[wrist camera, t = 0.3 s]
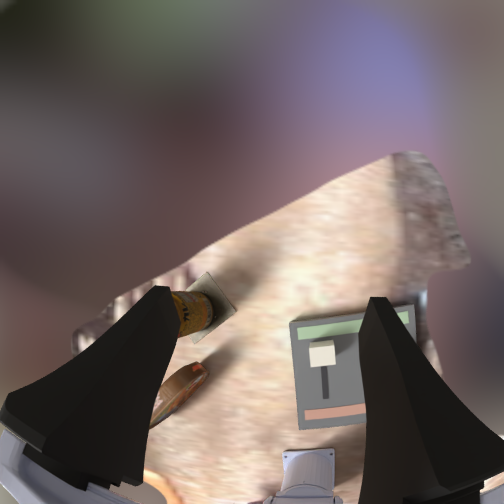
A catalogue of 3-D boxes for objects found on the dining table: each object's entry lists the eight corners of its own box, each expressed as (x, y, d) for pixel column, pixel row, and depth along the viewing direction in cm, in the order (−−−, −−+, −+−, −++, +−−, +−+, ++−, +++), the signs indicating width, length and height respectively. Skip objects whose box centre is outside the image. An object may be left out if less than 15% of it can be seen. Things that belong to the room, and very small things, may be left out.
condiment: (168, 305, 43) (120, 309, 31) (207, 271, 42) (166, 266, 30) (194, 343, 41) (152, 361, 30) (236, 311, 40) (203, 321, 29)
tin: (166, 420, 41) (139, 439, 33) (153, 407, 42) (125, 424, 34) (218, 367, 40) (194, 383, 32) (203, 352, 41) (176, 366, 33)
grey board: (411, 407, 32) (415, 412, 30) (300, 423, 36) (298, 430, 34) (409, 303, 35) (414, 304, 33) (290, 321, 38) (288, 323, 36)
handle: (334, 357, 34) (335, 364, 31) (311, 359, 35) (310, 367, 31) (333, 339, 35) (334, 345, 31) (310, 342, 35) (308, 348, 32)
